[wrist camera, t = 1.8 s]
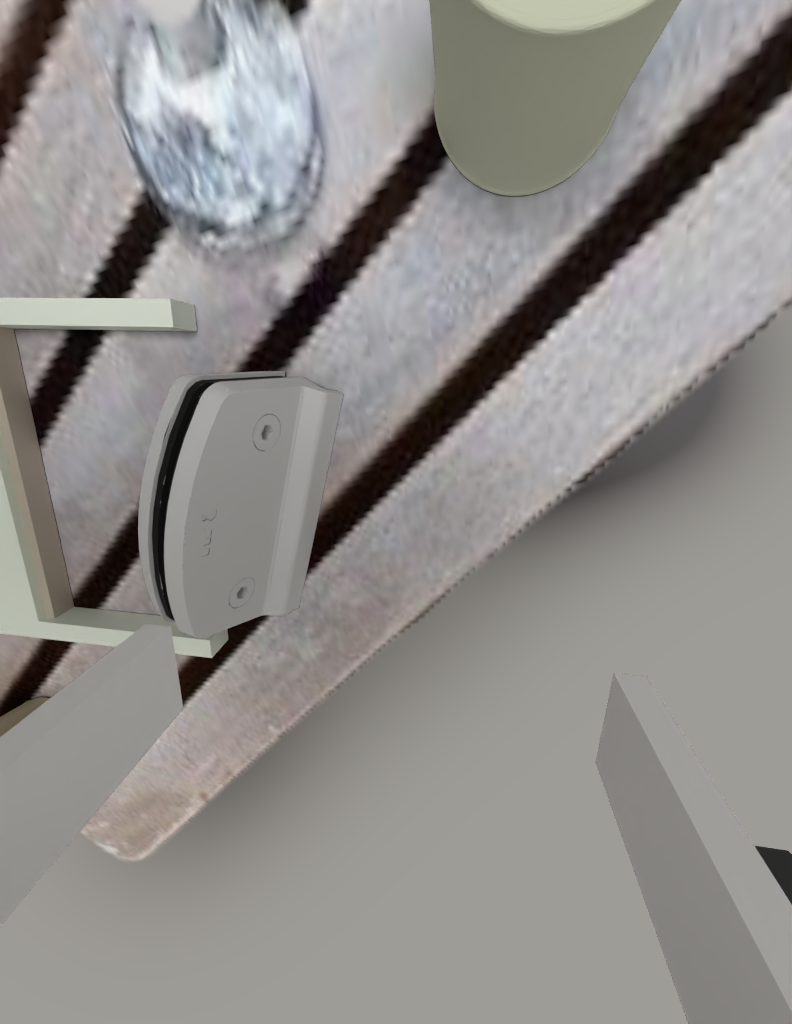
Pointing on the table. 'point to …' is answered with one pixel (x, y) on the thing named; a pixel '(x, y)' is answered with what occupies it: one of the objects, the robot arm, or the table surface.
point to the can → (535, 82)
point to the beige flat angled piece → (24, 490)
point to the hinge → (233, 496)
